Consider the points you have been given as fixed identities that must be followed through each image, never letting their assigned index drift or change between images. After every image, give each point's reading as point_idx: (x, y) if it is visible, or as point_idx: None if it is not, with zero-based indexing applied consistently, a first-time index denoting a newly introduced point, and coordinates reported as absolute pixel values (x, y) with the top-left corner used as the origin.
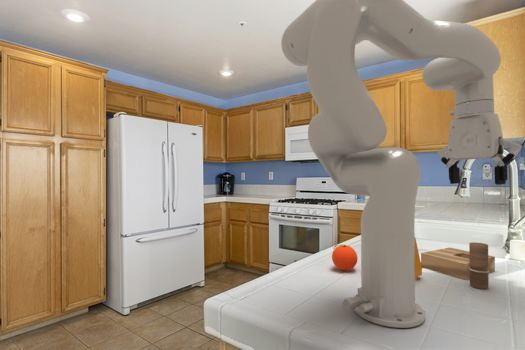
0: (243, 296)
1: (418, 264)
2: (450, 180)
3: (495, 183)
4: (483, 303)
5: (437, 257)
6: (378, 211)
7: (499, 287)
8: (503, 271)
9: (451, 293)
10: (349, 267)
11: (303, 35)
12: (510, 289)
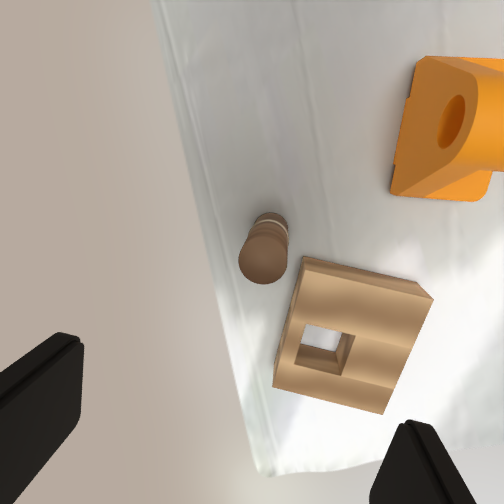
0: None
1: (405, 177)
2: (437, 443)
3: (78, 341)
4: (236, 124)
5: (380, 287)
6: None
7: None
8: (261, 374)
9: (300, 132)
10: None
11: None
12: (223, 259)
